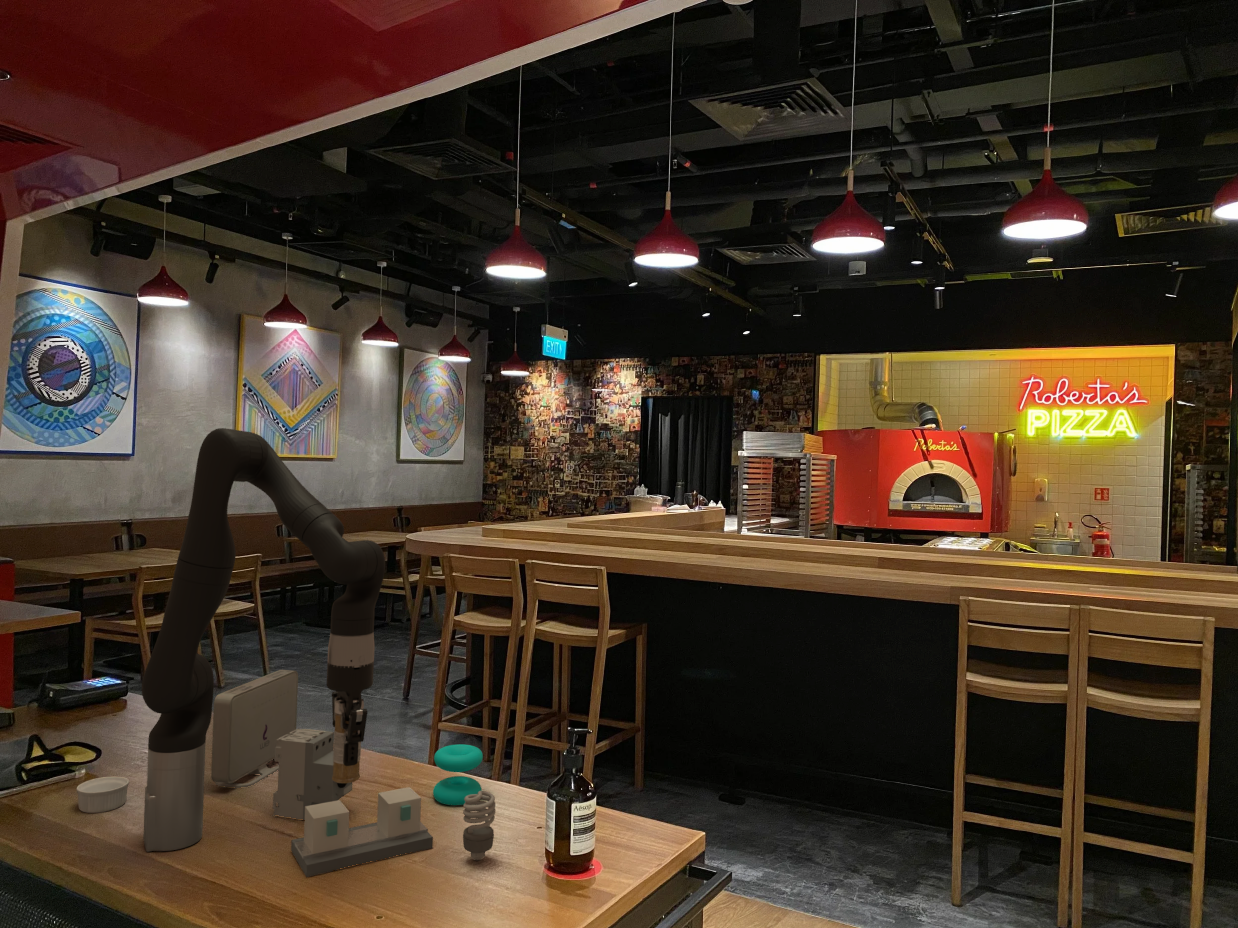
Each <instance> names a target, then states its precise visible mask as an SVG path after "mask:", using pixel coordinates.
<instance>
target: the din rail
mask: <svg viewBox="0 0 1238 928" xmlns="http://www.w3.org/2000/svg"><path fill="white" fill-rule="evenodd" d="M425 832H429V828H428V827H426V825H425V824H424V823H423V822H421V821H420V831H417V832H412V833H408V834H403V835H398V836H394V837H389V838H387V836H386V835H385V834H384V833H383V832H382V831H381V829H380V828H379V827H378V826H372V827H367V828H362V829H358V830H353V831H349V837H348V847H343V848H339V849H334V850H329V851H325V852H320V853H316V854H312V853H311V851H310V849H309V848H308V846H307V845H306V843H305V842H304V841H300V842H295V846H296V848H297V850H298V851H299V853H300V855H301V856H302V858H303V859H306V858H311V857H315V856H320V855H324V854H329V853H333V852H338V851H343V850H347V849H352V848H356V847H361V846H365V845H370V844H375V843H379V842H384V841H388V840H393V839H397V838H402V837H407V836H411V835H416V834H420V833H425Z"/></svg>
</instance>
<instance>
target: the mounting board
mask: <svg viewBox="0 0 1238 928" xmlns="http://www.w3.org/2000/svg"><path fill="white" fill-rule="evenodd" d="M372 826H377V821H376V822H373V823H366V824H363V825H357V826H353V827H349V831H353V830H358V829H362V828H367V827H372ZM290 841H291V844H290V851H292V852H291V853H293V854H292V855H293V857H294V856H295V857H294V858H296V859H295V860H296V862H297V863H298V866H299V867H300V868H301V871H302V872H303V874H304V876H305V877H306V878H309V877H313V876H317V875H318V876H319V875H321V874H325V873H330V872H334V871H333V870H335V871H338V870H337V869H340V868H344V867H348V866H352V865H356V864H361V865H363V864H362V863H366V862H370V861H374V862H377V861H376V860H379V861H382V860H381V859H383V860H386V859H385V858H387V859H390V858H389V857H392V858H394V857H393V856H396V855H400V854H401V855H400V856H403V855H402V854H405V853H409V854H411V853H410V852H413V853H417V852H416V851H418V852H421V851H420V850H422V851H425V850H426V851H427V850H430V849H433V846H434V836H433V835H432V834H431V833H430V832H429V831H428V832H425V833H420V834H416V835H411V836H407V837H402V838H397V839H393V840H388V841H384V842H379V843H375V844H370V845H365V846H361V847H356V848H352V849H347V850H343V851H338V852H333V853H329V854H324V855H320V856H315V857H311V858H306V859H303V858H302V856H301V855H300V853H299V851H298V850H297V848H296V846H295V842H300V841H304V836H303V837H298V838H294V839H291V840H290ZM405 855H406V854H405ZM396 857H397V856H396ZM370 863H371V862H370ZM366 864H367V863H366ZM348 868H349V867H348ZM344 869H345V868H344ZM340 870H341V869H340Z"/></svg>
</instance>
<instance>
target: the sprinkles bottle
mask: <svg viewBox="0 0 1238 928" xmlns="http://www.w3.org/2000/svg"><path fill="white" fill-rule="evenodd" d="M339 701H342V700H338V701H335V727H334V731H333V732H334V748H333V750H334V752H333V761H334V763H333V776H332V780H333V781H335V782H337V783H351V782H352V783H354V782H357V781H358V780H360V778H361V774H360V762H361V761H360V760H361V755H362V754H361V752H362V751H361V750H362V742H358V762H357V764H356V765H351V766H345V765H344V764H343V755H344V730H343V729H341V727H340V714H341V712H340V711H339ZM345 722H346V724H349V721H346V720H345ZM352 735H356V731H354V732H353V734H352Z"/></svg>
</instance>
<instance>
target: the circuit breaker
mask: <svg viewBox="0 0 1238 928" xmlns="http://www.w3.org/2000/svg"><path fill="white" fill-rule="evenodd" d="M276 741H277V746H276V747H275V760H273V761H274V762H278V765H279V768H278V771H277V772H278V774H277V790H276V791H274V792H273V793H272V794H273V795H272V810H273V814H272V817H273V816H275V815H279V816H284V817H291V818H296V819H303V820H305V806H310V805H316V804H321V803H326V802H332V801H337V800H341V799H342V798H343V797H345V796H346V795H347V794H348V793H350V792H351V791H353V782H351V783H337V782H335V781H333V780H332V776H333V763H334V761H333V752H334V731H330V730H329V731H327V730H318V729H309V728H296V730H294V731H292V732H290V733H289V735H287V734H286V735H284V736H282V737H280V738H278V739H277V740H276ZM278 754H281V755H280V757H278ZM275 817H276V816H275Z"/></svg>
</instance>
